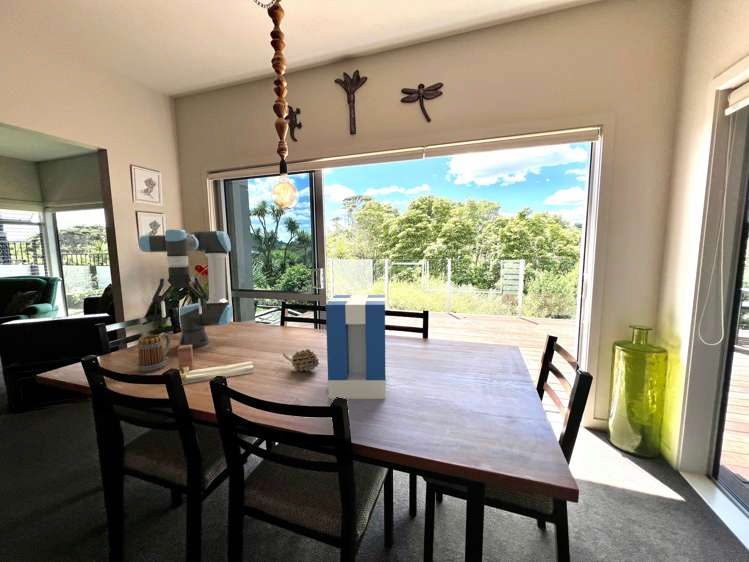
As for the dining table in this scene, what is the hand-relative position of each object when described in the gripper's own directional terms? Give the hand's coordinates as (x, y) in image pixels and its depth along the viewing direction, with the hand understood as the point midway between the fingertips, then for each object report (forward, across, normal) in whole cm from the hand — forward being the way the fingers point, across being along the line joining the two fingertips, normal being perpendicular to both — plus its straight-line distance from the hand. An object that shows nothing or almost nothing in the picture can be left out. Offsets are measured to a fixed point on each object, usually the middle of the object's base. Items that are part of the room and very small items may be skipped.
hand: (182, 315), depth 136 cm
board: (+26, +12, -7) cm, 30 cm away
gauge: (+26, 0, -5) cm, 27 cm away
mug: (+27, -14, +16) cm, 34 cm away
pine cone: (+27, +46, -17) cm, 55 cm away
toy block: (+27, +65, -44) cm, 82 cm away
